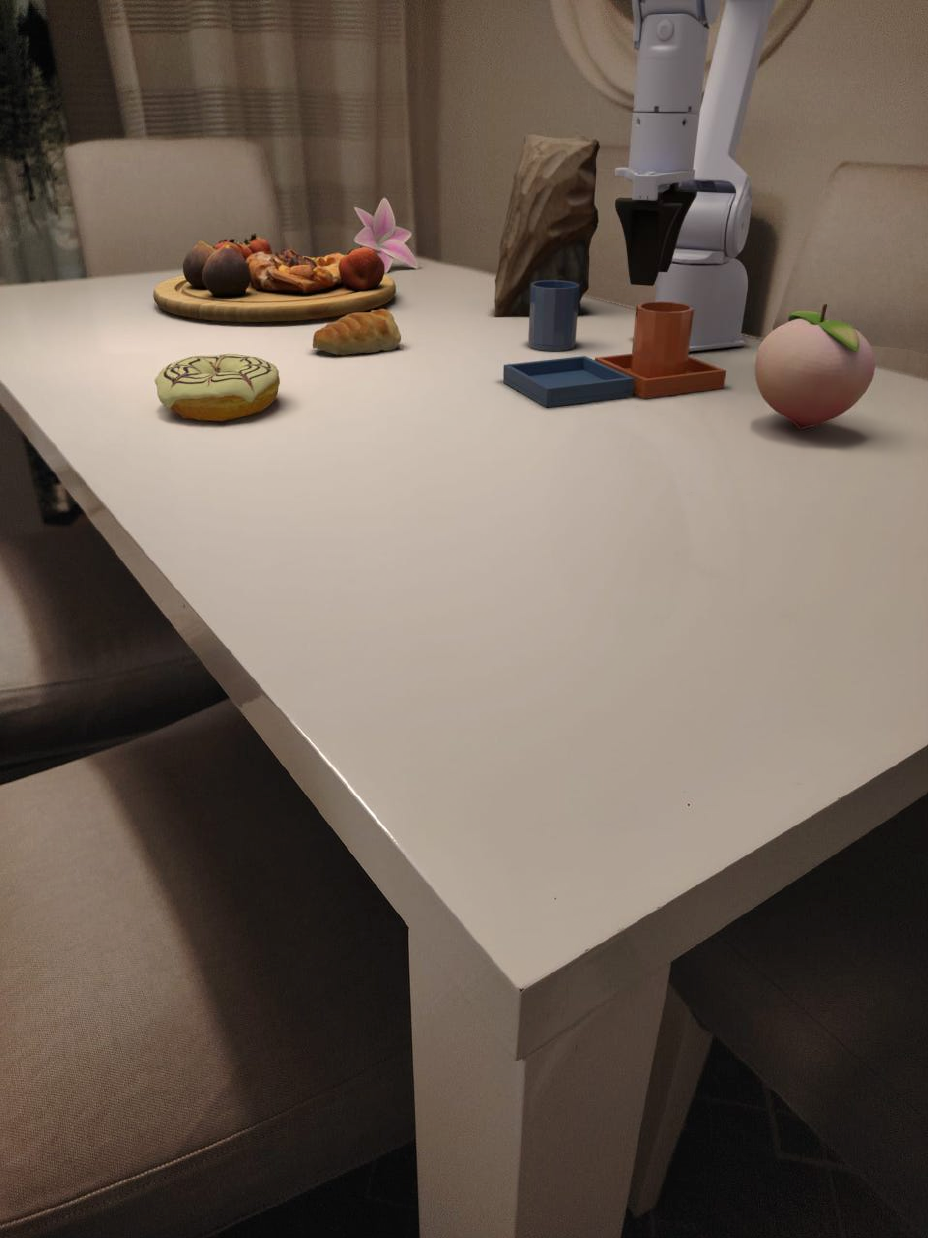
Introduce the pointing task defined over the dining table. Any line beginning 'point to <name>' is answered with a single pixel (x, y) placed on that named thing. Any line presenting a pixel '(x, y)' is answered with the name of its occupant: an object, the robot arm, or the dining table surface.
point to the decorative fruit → (813, 368)
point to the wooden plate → (273, 283)
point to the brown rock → (547, 220)
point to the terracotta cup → (661, 339)
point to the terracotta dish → (669, 377)
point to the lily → (385, 235)
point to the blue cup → (553, 315)
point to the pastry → (359, 334)
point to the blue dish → (567, 381)
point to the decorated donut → (218, 386)
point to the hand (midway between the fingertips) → (649, 277)
